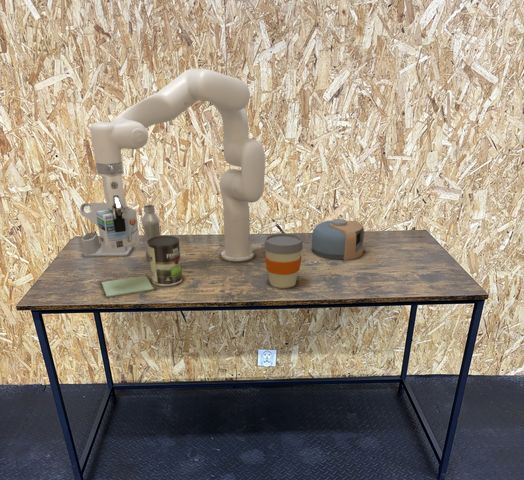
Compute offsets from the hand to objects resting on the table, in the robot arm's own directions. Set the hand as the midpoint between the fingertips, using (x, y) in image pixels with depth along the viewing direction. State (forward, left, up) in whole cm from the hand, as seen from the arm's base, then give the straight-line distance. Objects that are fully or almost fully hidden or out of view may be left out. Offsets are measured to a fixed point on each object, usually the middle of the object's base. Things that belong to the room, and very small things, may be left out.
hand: (118, 227), depth 154 cm
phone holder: (+1, -37, -20) cm, 42 cm away
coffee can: (-14, 0, -20) cm, 24 cm away
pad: (0, 0, -20) cm, 20 cm away
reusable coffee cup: (-49, +17, -20) cm, 56 cm away
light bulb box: (0, 0, -6) cm, 6 cm away
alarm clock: (-82, -3, -20) cm, 85 cm away
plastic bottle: (-14, -21, -20) cm, 32 cm away
